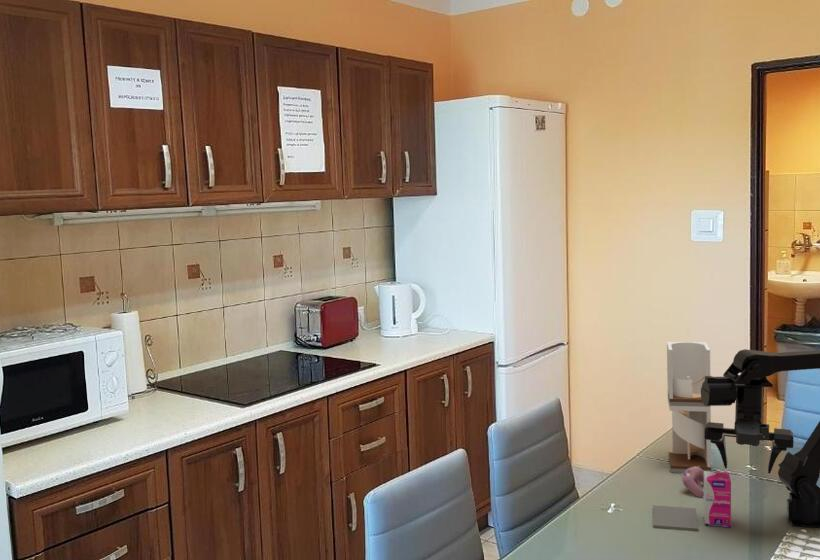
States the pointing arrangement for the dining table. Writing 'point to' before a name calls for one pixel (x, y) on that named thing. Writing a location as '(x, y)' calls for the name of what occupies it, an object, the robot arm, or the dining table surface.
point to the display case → (688, 405)
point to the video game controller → (694, 480)
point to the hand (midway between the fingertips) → (747, 470)
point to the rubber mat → (675, 518)
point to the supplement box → (717, 499)
